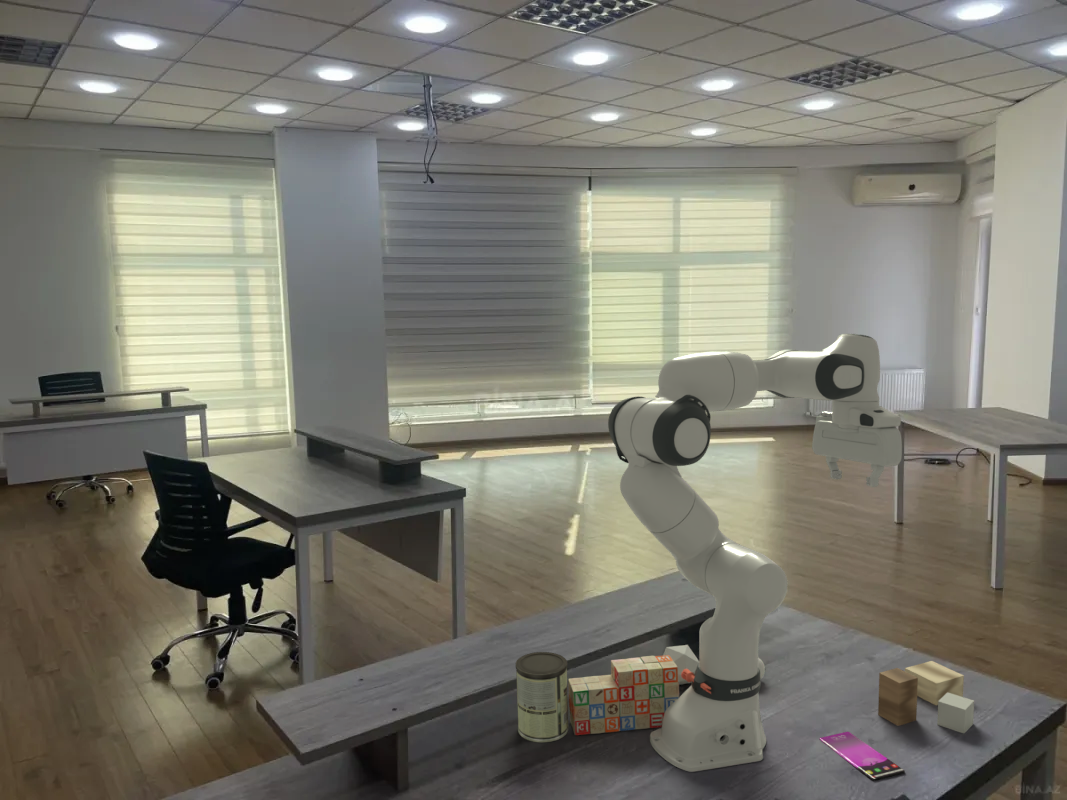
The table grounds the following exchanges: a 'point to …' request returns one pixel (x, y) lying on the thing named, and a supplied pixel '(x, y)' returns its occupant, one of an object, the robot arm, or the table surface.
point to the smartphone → (862, 756)
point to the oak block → (936, 681)
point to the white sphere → (761, 667)
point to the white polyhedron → (682, 660)
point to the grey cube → (955, 712)
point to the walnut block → (897, 696)
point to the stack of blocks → (624, 696)
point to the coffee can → (542, 696)
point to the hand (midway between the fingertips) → (853, 482)
